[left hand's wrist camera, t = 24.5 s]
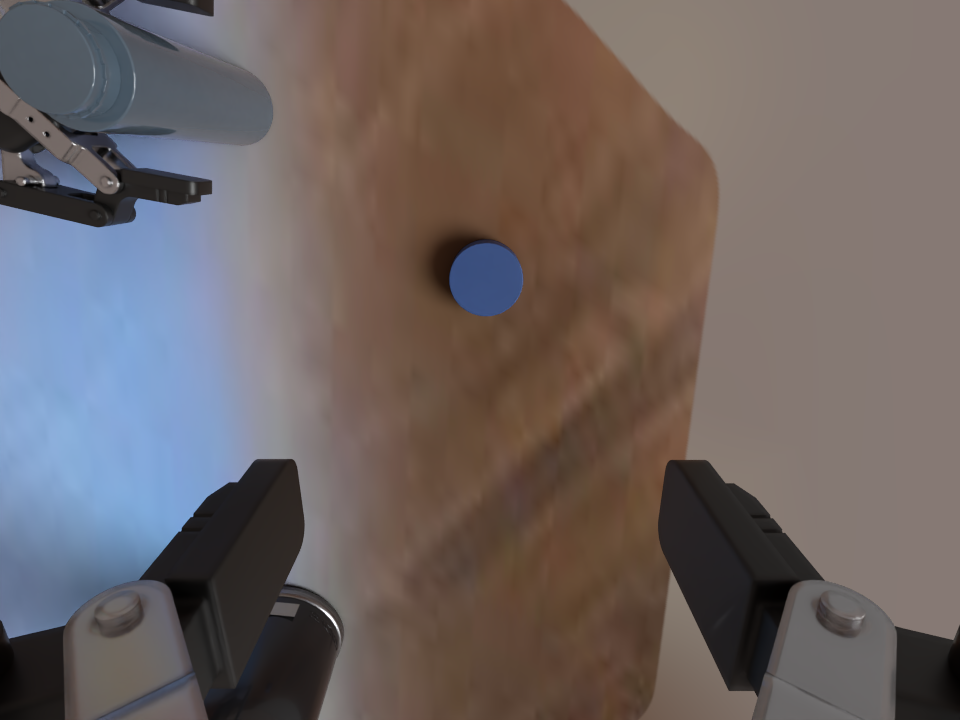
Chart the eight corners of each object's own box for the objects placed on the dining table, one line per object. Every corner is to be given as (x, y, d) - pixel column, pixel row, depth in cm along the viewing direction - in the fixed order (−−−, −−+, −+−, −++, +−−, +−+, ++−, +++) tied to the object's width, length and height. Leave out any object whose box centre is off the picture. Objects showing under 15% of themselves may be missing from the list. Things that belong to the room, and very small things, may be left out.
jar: (286, 129, 33) (133, 100, 18) (225, 156, 33) (32, 148, 19) (251, 55, 31) (57, -38, 17) (188, 84, 32) (-50, 18, 18)
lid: (436, 269, 36) (433, 274, 34) (492, 224, 35) (492, 227, 33) (480, 323, 37) (480, 330, 35) (535, 281, 36) (537, 286, 34)
